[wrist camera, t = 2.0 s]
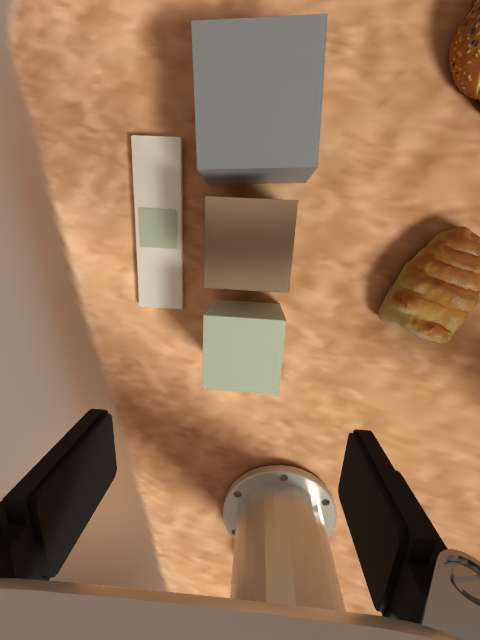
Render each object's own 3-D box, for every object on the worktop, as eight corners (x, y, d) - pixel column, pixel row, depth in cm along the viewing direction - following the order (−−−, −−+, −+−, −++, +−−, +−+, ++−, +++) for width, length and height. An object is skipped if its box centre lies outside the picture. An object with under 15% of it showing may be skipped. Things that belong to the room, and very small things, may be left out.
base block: (304, 183, 23) (317, 167, 18) (209, 184, 23) (197, 169, 19) (311, 67, 21) (327, 13, 16) (206, 71, 21) (191, 20, 16)
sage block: (273, 362, 27) (278, 394, 21) (213, 358, 27) (202, 388, 22) (279, 303, 26) (286, 320, 20) (215, 299, 26) (203, 315, 20)
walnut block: (281, 281, 25) (288, 292, 19) (215, 277, 25) (203, 287, 20) (287, 211, 23) (297, 200, 18) (217, 207, 24) (205, 196, 18)
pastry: (420, 216, 23) (451, 211, 19) (493, 244, 23) (537, 245, 20) (368, 317, 26) (387, 330, 22) (434, 342, 26) (464, 358, 22)
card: (183, 307, 26) (181, 309, 25) (141, 305, 26) (138, 306, 26) (182, 139, 22) (180, 136, 22) (134, 138, 23) (130, 134, 22)
